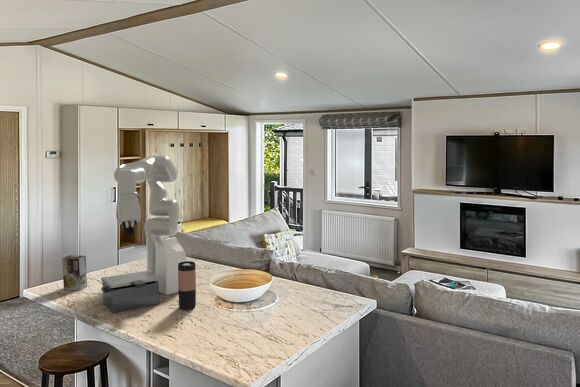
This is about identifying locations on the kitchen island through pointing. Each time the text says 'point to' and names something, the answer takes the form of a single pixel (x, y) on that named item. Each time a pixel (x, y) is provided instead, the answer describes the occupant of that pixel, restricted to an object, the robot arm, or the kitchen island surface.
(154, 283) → the grey lidded box
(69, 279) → the coffee box
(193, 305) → the travel mug
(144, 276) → the lid
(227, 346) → the kitchen island surface
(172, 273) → the milk
